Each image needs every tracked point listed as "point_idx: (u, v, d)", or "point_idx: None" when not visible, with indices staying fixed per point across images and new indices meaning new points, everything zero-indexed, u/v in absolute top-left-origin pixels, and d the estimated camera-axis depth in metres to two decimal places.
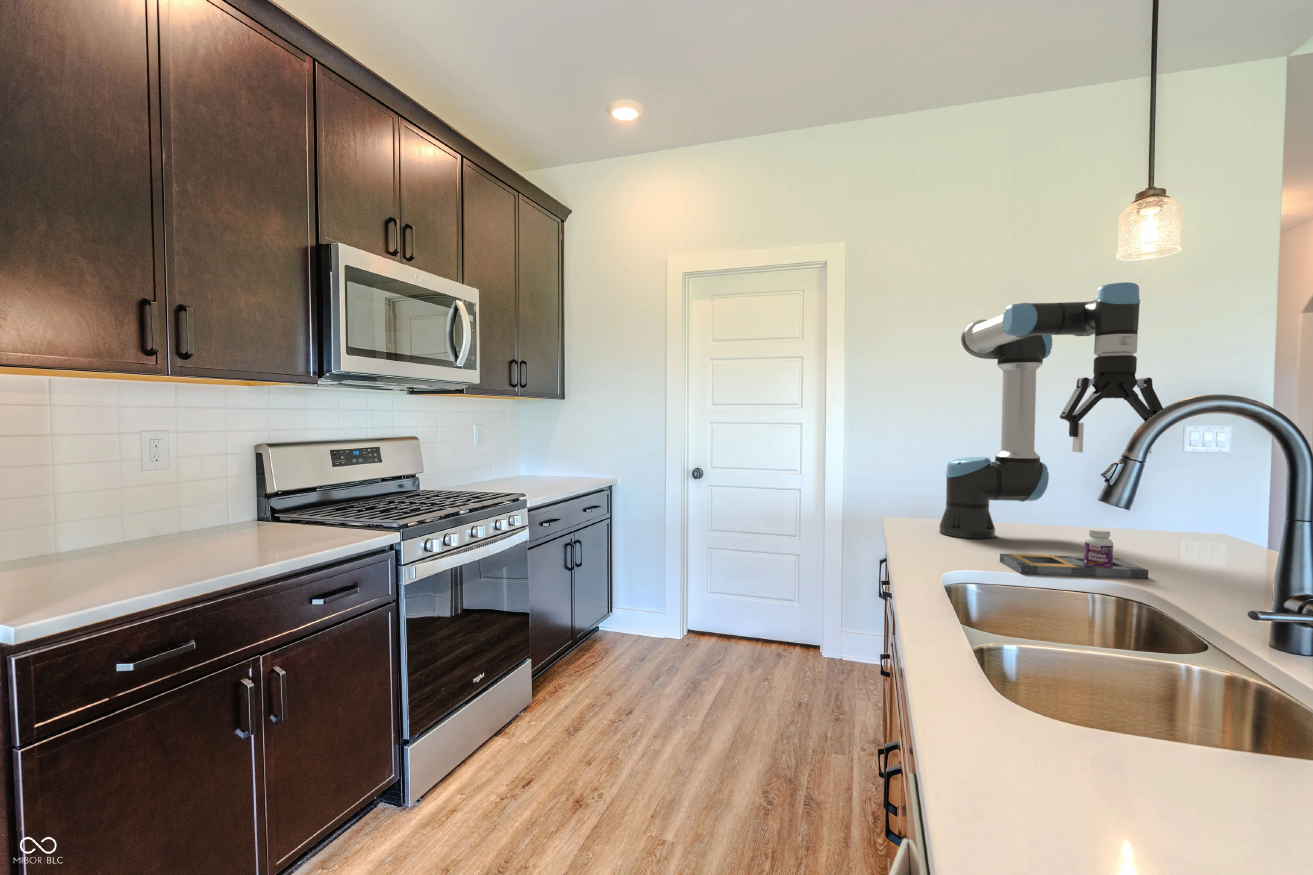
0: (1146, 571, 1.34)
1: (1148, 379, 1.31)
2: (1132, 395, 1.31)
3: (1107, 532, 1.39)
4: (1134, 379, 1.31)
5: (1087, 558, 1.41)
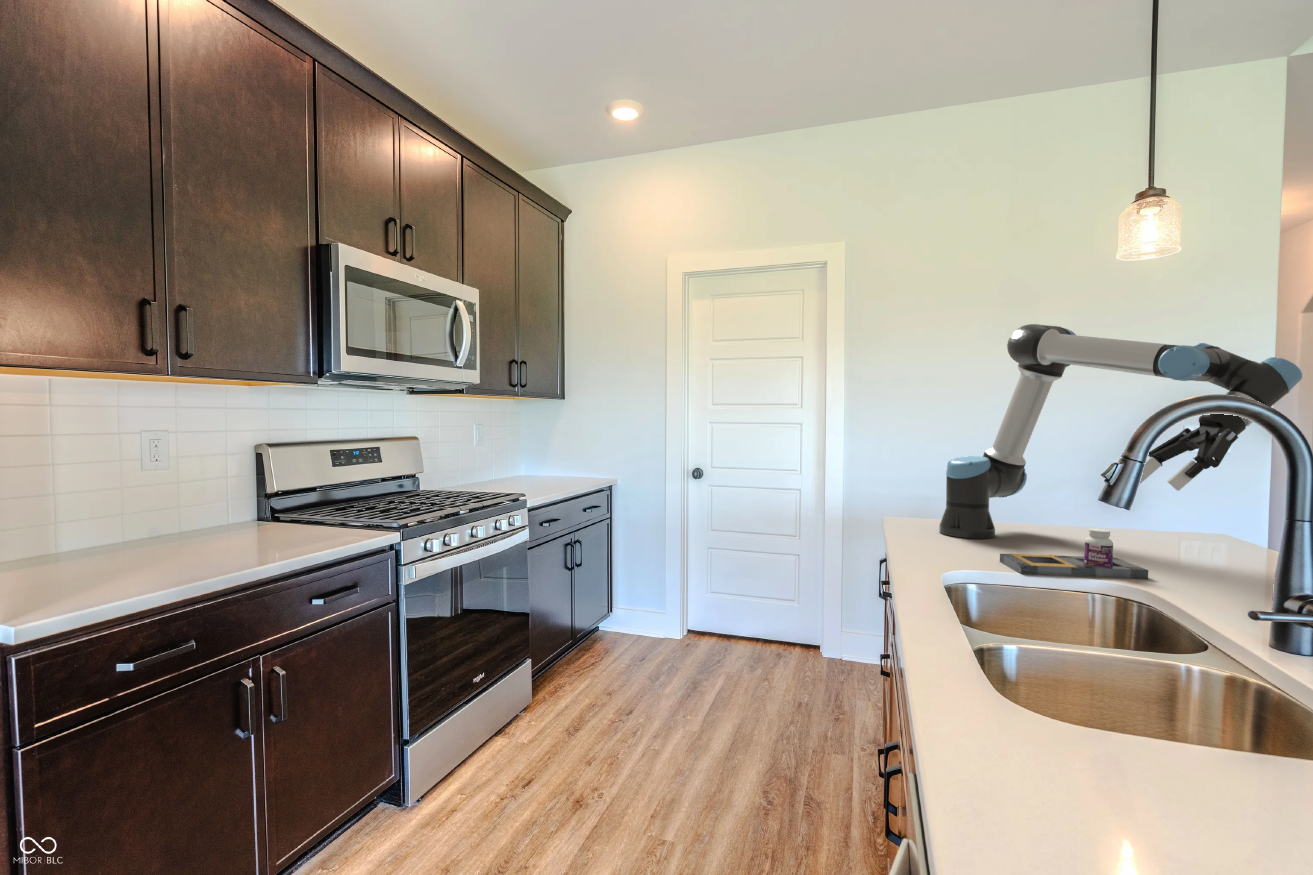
0: (1146, 571, 1.34)
1: None
2: None
3: (1107, 532, 1.39)
4: None
5: (1087, 558, 1.41)
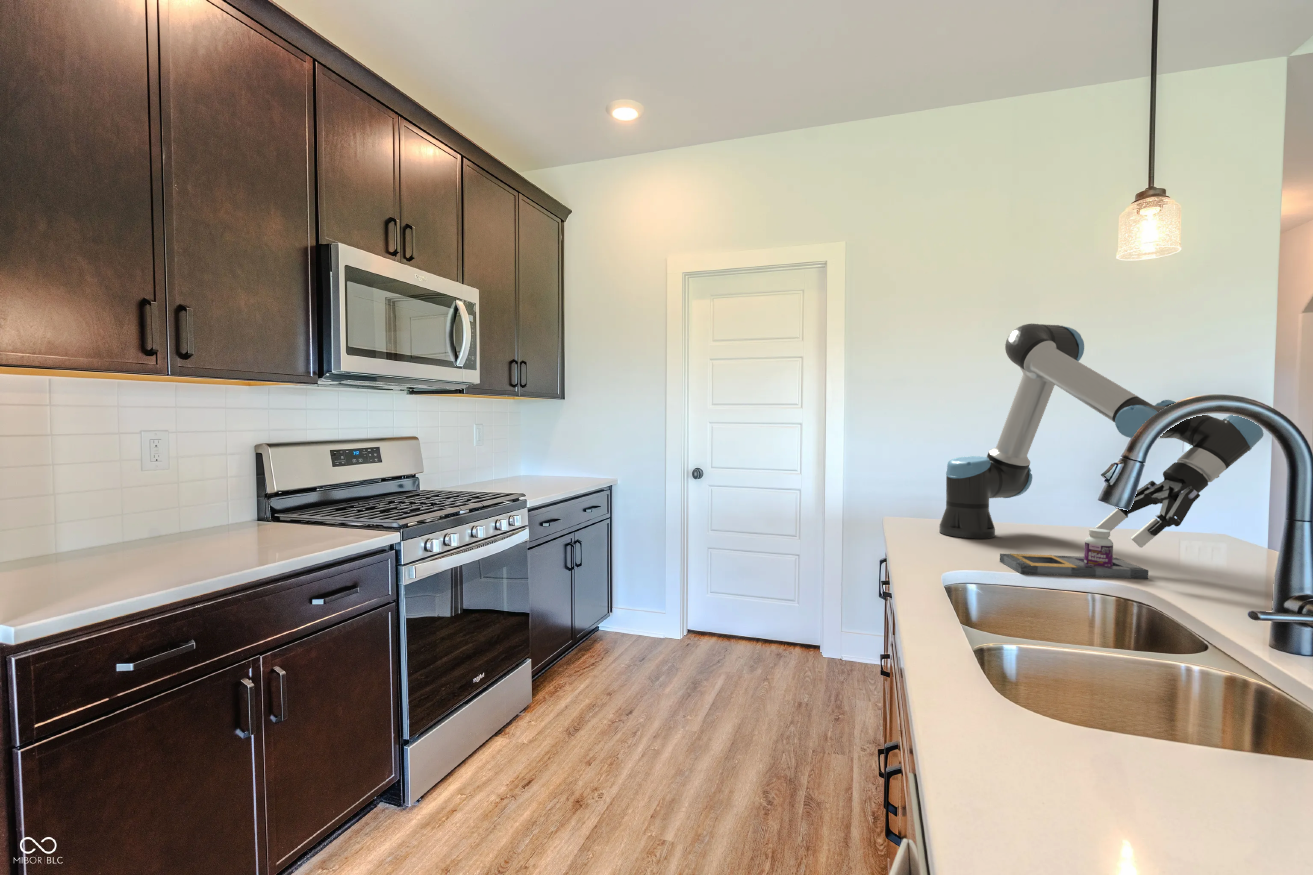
0: (1146, 571, 1.34)
1: None
2: None
3: (1107, 532, 1.39)
4: None
5: (1087, 558, 1.41)
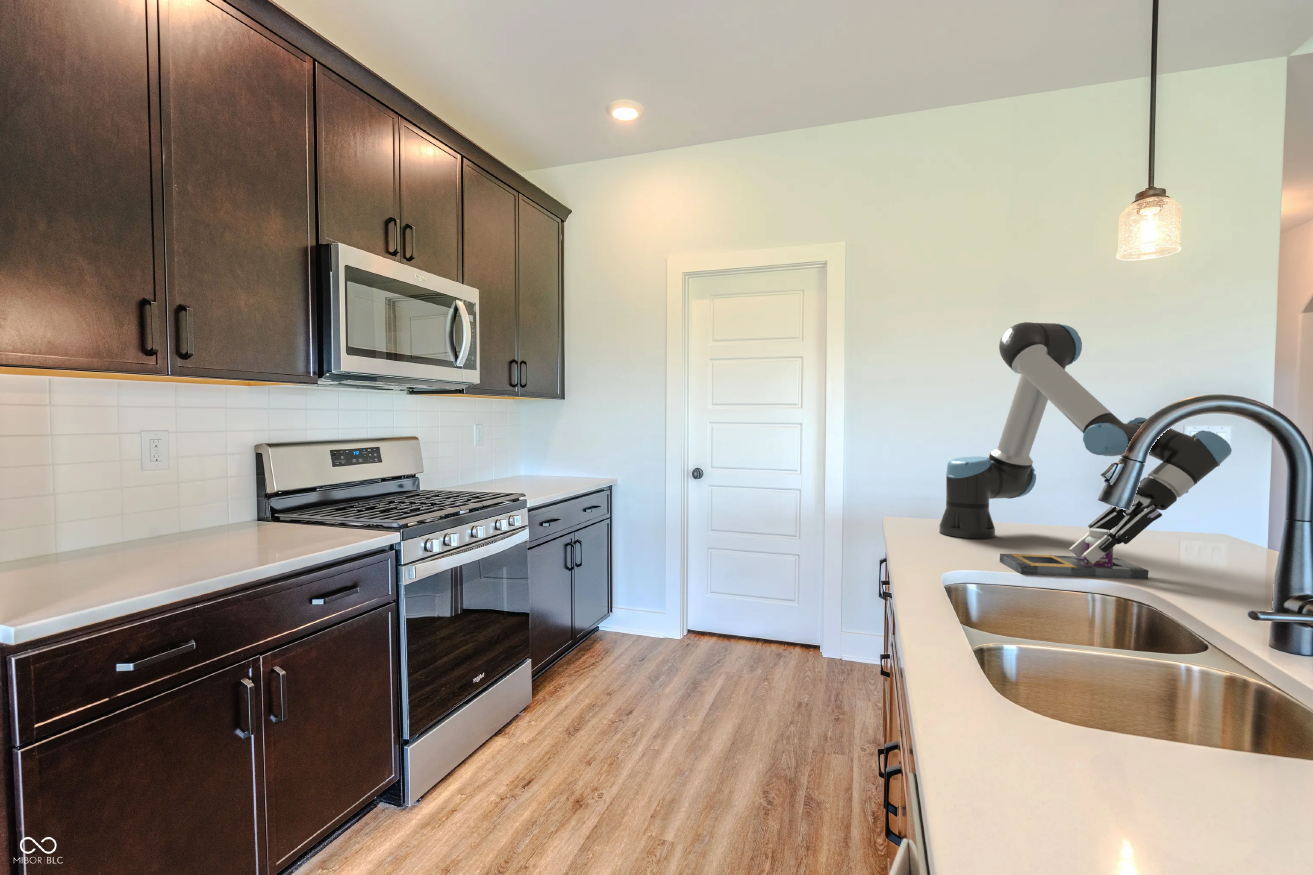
0: (1146, 571, 1.34)
1: None
2: None
3: (1107, 532, 1.39)
4: None
5: None
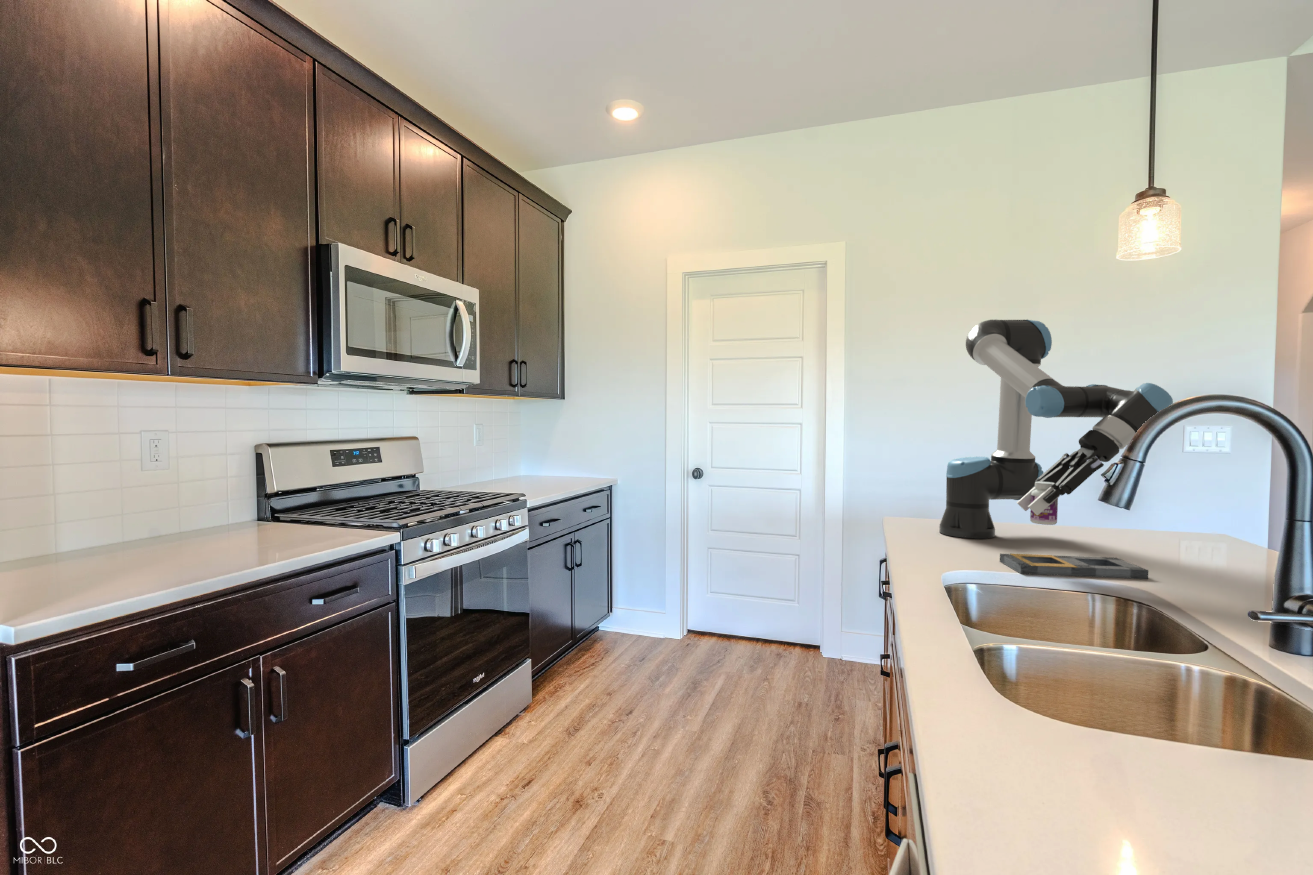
0: (1146, 571, 1.34)
1: None
2: None
3: None
4: None
5: (1032, 511, 1.42)
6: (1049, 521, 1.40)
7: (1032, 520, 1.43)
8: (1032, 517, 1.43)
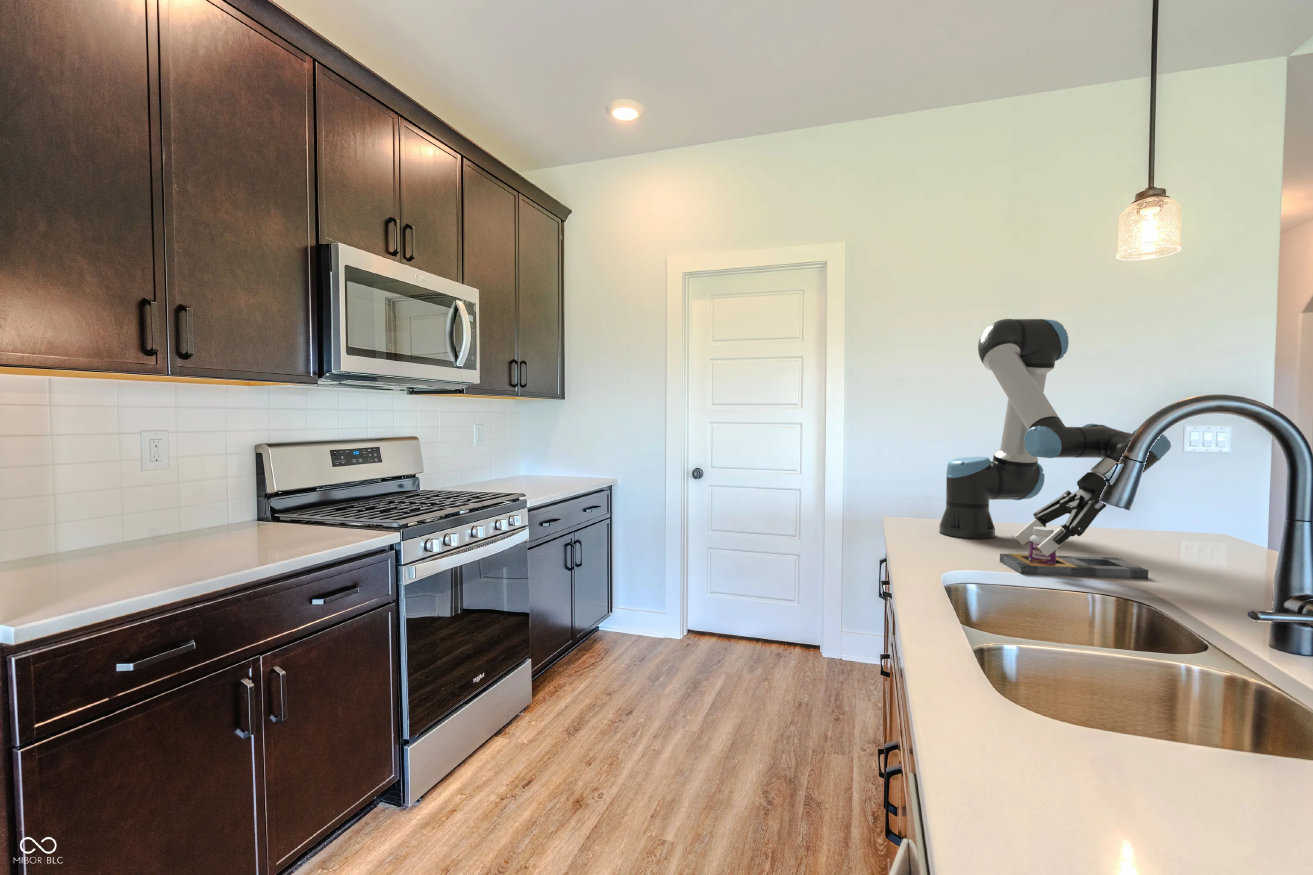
0: (1146, 571, 1.34)
1: None
2: None
3: (1050, 530, 1.41)
4: None
5: (1031, 556, 1.43)
6: None
7: None
8: None
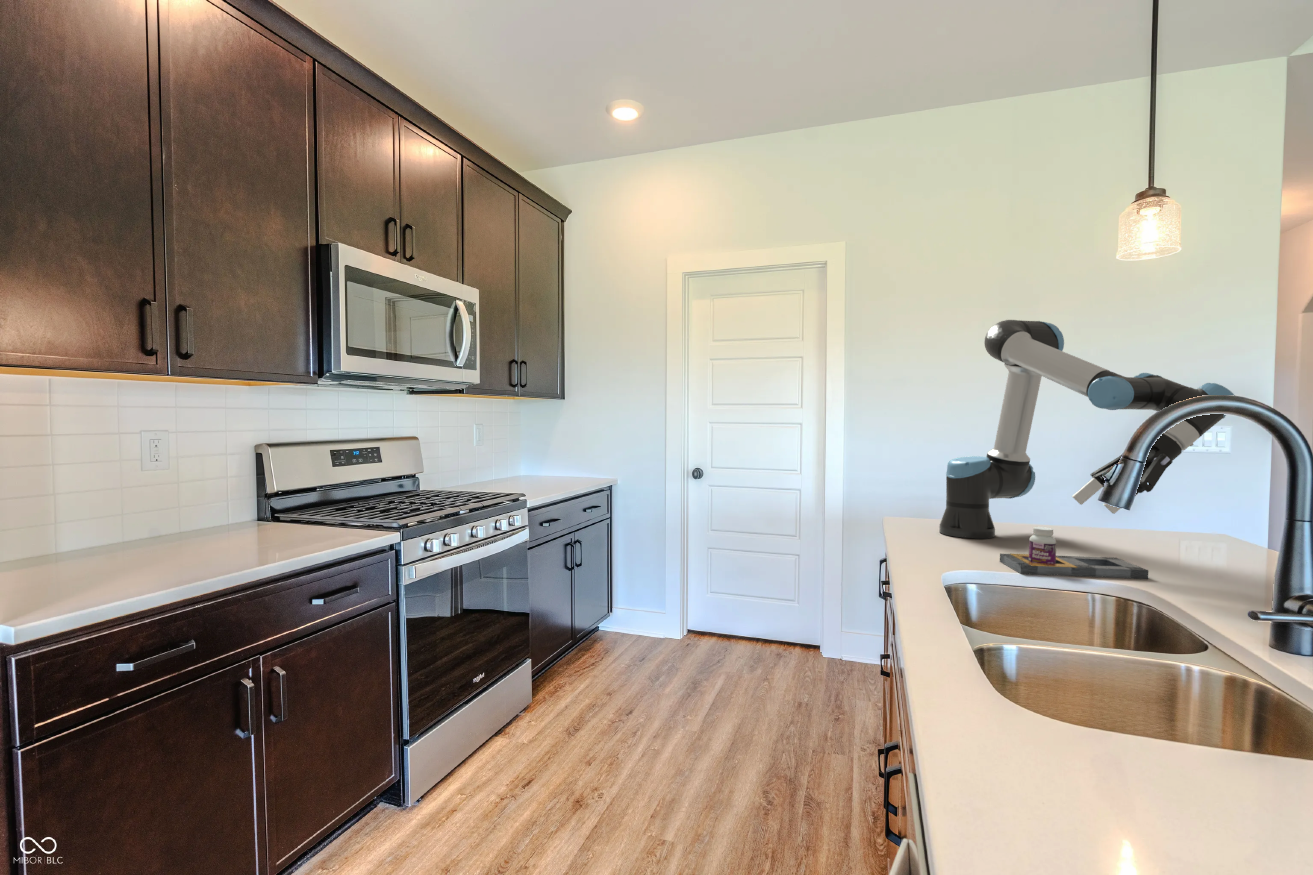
0: (1146, 571, 1.34)
1: None
2: None
3: (1050, 530, 1.41)
4: None
5: (1031, 556, 1.43)
6: None
7: None
8: None
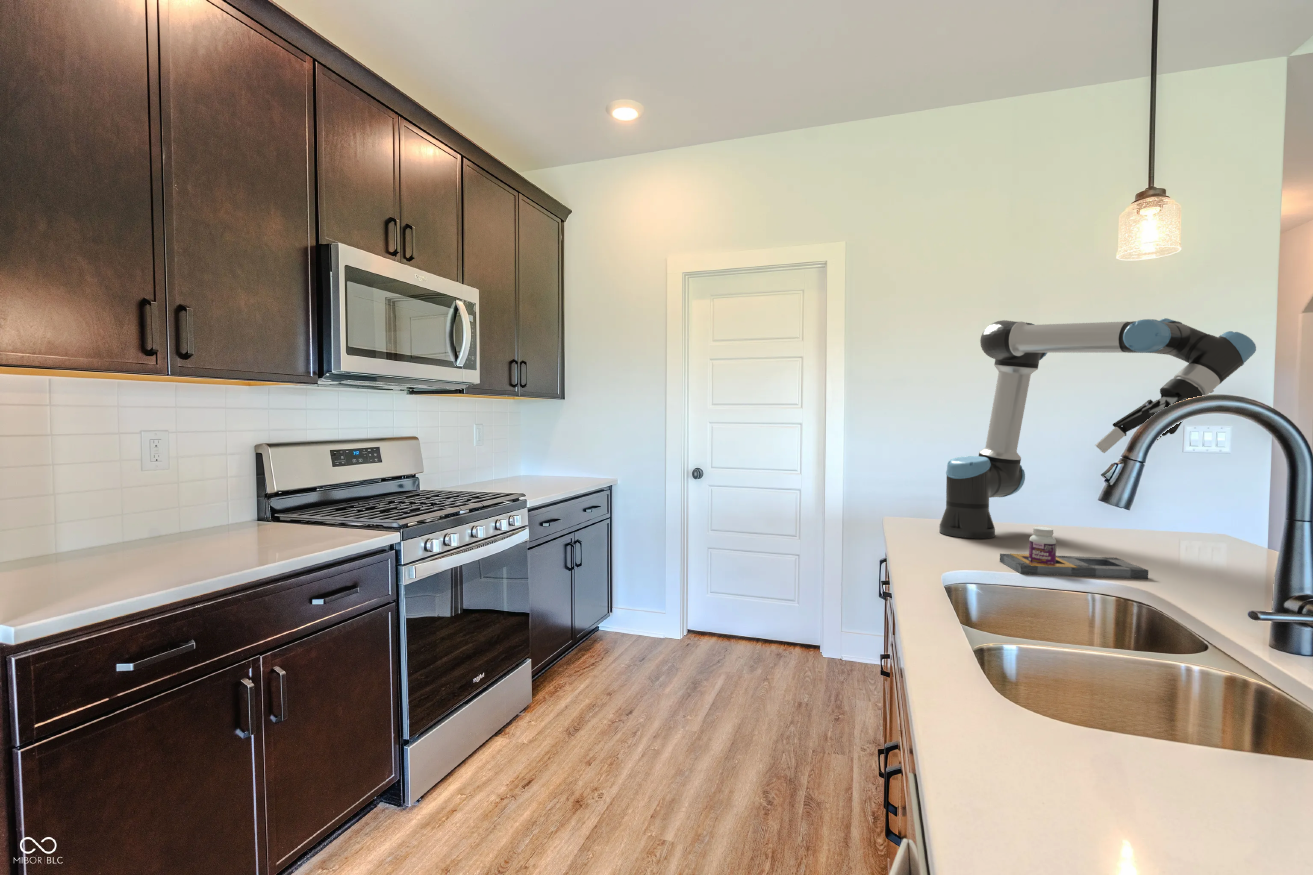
0: (1146, 571, 1.34)
1: None
2: None
3: (1050, 530, 1.41)
4: None
5: (1031, 556, 1.43)
6: None
7: None
8: None
